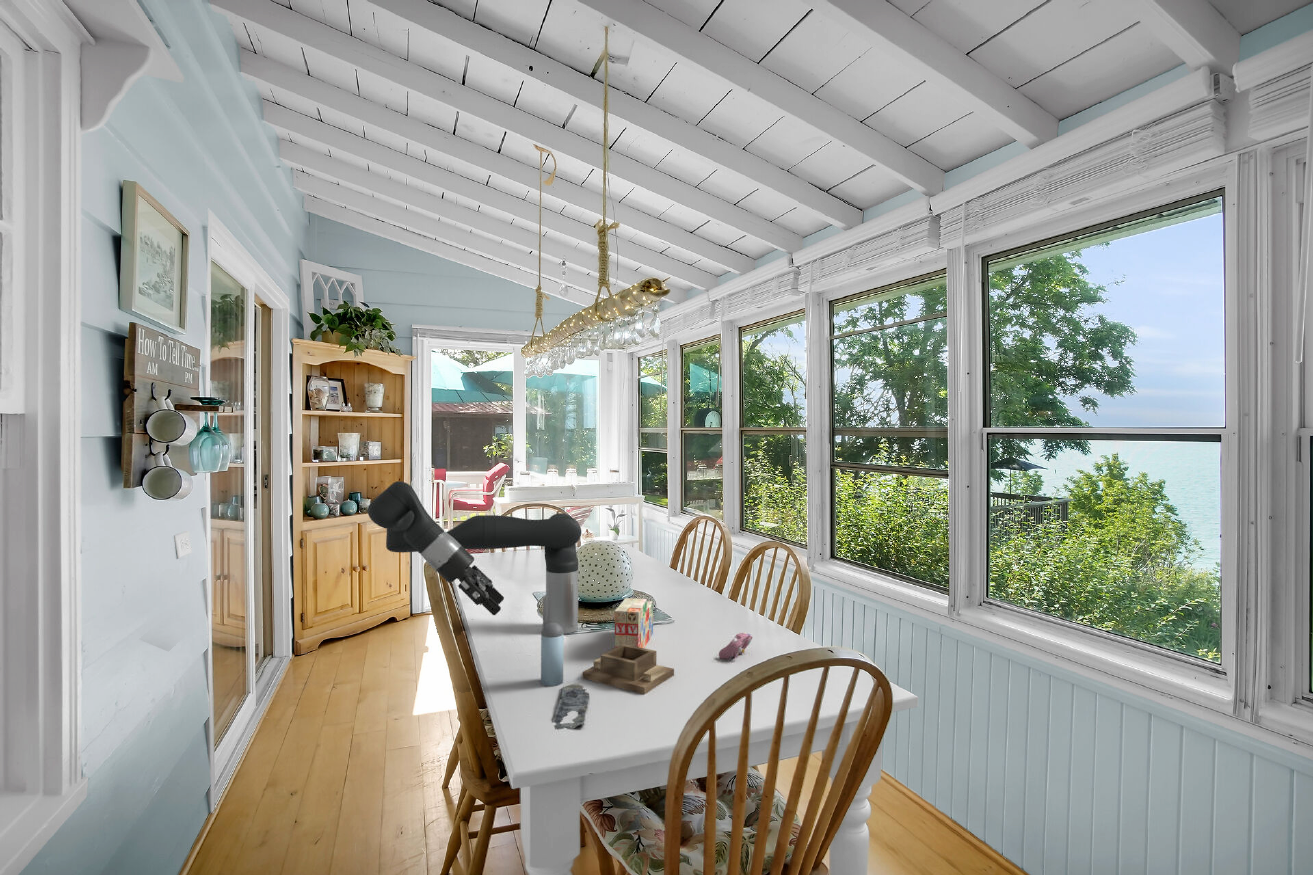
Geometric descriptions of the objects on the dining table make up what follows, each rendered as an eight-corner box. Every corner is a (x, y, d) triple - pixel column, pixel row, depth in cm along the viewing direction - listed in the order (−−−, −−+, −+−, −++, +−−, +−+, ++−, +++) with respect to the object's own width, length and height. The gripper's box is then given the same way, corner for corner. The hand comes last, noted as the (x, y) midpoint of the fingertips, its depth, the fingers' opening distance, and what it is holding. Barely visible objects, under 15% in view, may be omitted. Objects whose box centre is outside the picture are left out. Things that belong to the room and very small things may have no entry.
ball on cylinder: (536, 683, 145) (536, 623, 145) (550, 676, 149) (551, 618, 149) (553, 688, 142) (553, 627, 142) (567, 680, 146) (568, 622, 146)
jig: (582, 678, 148) (582, 654, 148) (614, 661, 159) (615, 639, 159) (644, 694, 139) (644, 669, 139) (674, 675, 150) (674, 651, 150)
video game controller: (730, 667, 159) (742, 645, 158) (716, 656, 162) (727, 633, 160) (746, 656, 168) (758, 634, 166) (732, 645, 170) (743, 624, 168)
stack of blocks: (631, 632, 182) (632, 589, 182) (653, 633, 181) (653, 590, 181) (614, 658, 161) (614, 609, 161) (638, 660, 160) (638, 611, 160)
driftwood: (563, 688, 143) (563, 678, 143) (593, 688, 143) (593, 678, 143) (548, 732, 123) (548, 721, 123) (584, 732, 123) (584, 721, 123)
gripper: (440, 562, 148) (490, 610, 150) (428, 576, 134) (483, 628, 136) (464, 539, 149) (514, 587, 151) (454, 550, 135) (509, 603, 137)
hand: (499, 606), depth 144 cm, fingers open, 8 cm apart
